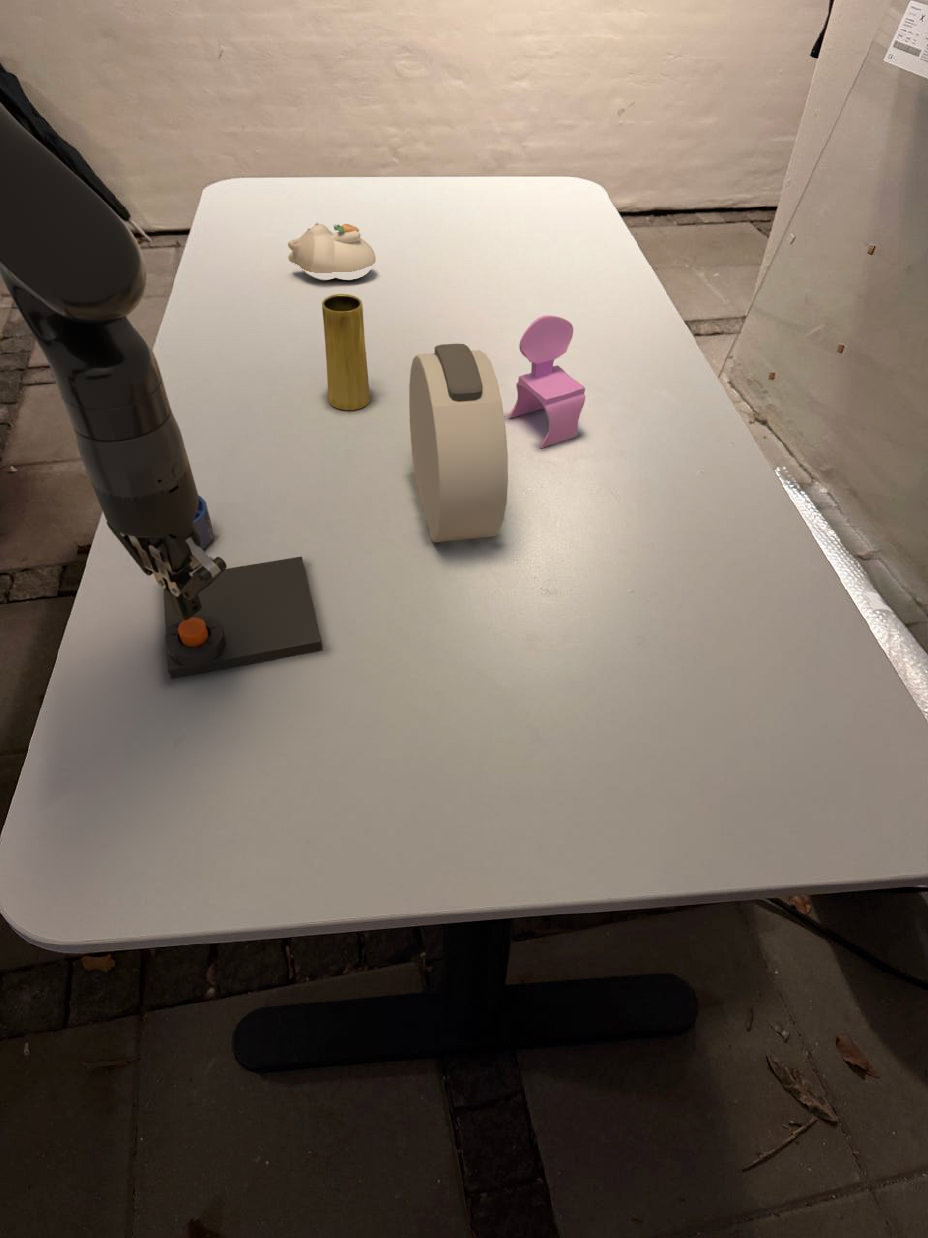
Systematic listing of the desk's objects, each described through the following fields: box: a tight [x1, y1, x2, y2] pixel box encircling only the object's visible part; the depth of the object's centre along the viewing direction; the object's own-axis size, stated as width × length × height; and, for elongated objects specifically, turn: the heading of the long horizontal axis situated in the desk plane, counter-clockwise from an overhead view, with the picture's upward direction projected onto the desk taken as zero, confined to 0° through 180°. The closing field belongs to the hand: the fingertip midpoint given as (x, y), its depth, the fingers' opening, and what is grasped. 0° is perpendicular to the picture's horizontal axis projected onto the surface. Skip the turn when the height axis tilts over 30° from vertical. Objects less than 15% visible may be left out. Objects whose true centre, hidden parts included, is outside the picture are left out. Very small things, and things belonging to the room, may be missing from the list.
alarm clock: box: [408, 343, 509, 543], centre depth 89 cm, size 21×8×20 cm, turn 12°
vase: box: [321, 293, 372, 411], centre depth 106 cm, size 6×6×14 cm
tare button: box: [178, 617, 208, 647], centre depth 76 cm, size 3×3×2 cm
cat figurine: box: [287, 222, 376, 273], centre depth 134 cm, size 10×8×15 cm
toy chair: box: [507, 315, 586, 449], centre depth 103 cm, size 8×9×15 cm
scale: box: [162, 556, 323, 679], centre depth 81 cm, size 15×13×3 cm
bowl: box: [193, 494, 214, 550], centre depth 88 cm, size 6×6×4 cm
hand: (188, 612), depth 74 cm, fingers closed
